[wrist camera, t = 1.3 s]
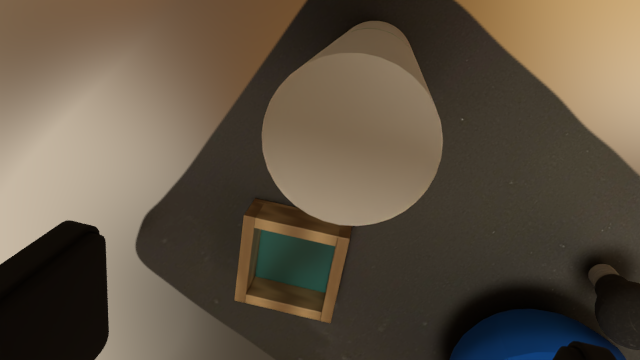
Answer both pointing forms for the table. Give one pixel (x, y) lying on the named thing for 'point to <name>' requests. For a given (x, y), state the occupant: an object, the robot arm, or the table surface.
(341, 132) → the cylindrical container
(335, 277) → the square wooden tray
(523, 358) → the vase
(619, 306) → the light bulb
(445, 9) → the table surface
